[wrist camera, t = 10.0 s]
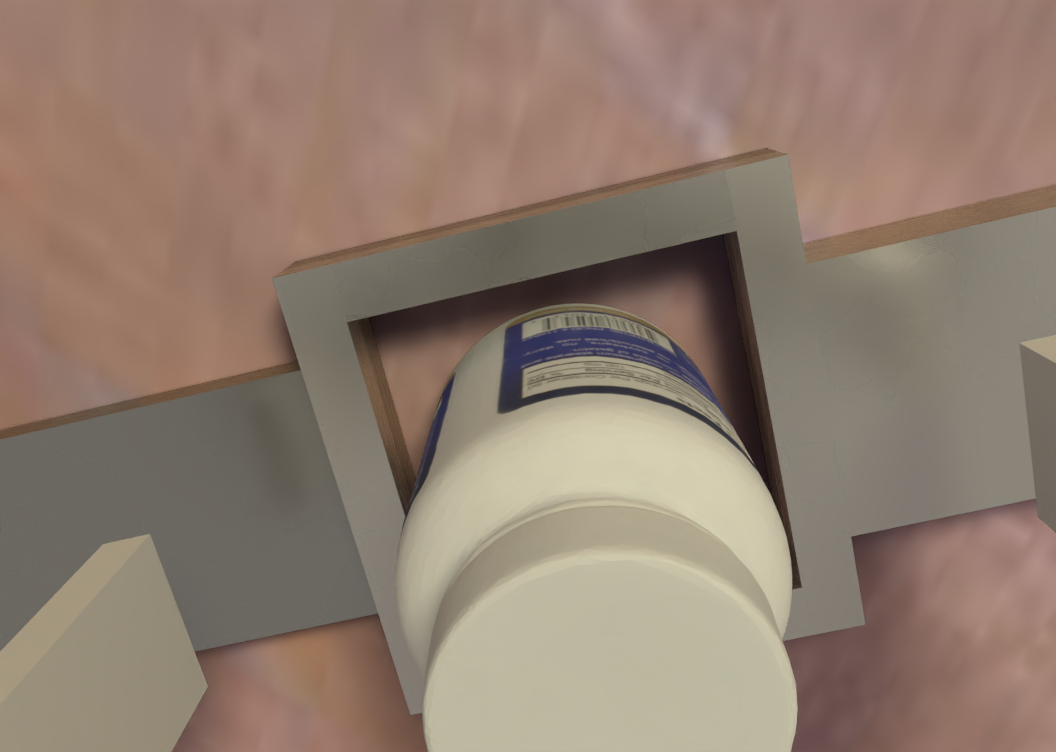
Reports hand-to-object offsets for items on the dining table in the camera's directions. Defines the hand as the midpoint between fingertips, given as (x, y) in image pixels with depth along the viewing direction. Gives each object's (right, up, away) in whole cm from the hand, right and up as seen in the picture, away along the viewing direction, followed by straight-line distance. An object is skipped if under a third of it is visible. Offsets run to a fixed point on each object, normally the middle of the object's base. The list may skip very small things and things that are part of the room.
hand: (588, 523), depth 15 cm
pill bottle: (0, +1, +4) cm, 4 cm away
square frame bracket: (0, +1, +4) cm, 4 cm away
